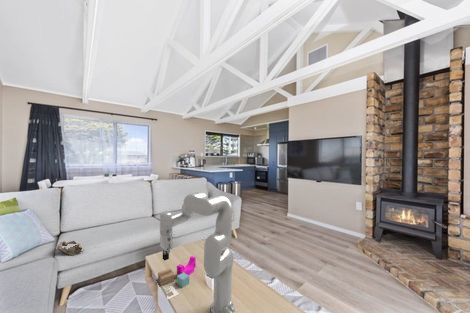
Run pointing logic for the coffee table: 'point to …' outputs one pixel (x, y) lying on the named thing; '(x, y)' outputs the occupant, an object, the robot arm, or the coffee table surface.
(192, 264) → the magenta curved piece
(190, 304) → the coffee table surface
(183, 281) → the teal cube
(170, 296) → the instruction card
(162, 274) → the base brick
